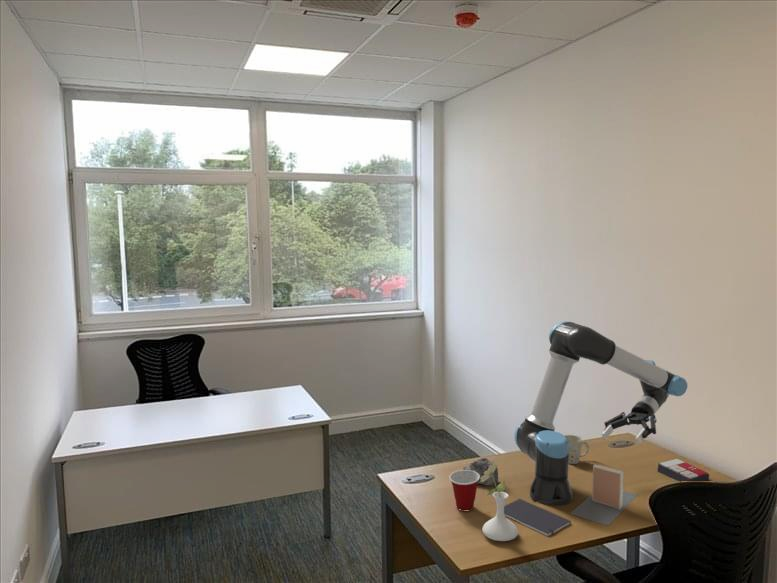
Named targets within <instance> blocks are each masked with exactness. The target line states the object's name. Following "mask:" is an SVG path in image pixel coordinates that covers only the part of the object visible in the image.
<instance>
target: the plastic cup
mask: <svg viewBox="0 0 777 583" xmlns="http://www.w3.org/2000/svg"><path fill="white" fill-rule="evenodd" d="M448 478H449V481H450V482H451V485H452V490H453V495H454V499H455V504H456V505H455V506H456V508H457V510H459V509H461V510H471V509H472V508H473V509H474V505H475V504H474V503H475V500H476V495H477V489H478V488H477V487H478V484H479V483H478V481H479V478H480V475H479V474H478V473H477V472H475V471H471V470H463V469H461V470H455V471H452V472H451V474H449V477H448ZM473 509H472V510H473ZM461 510H460V511H461ZM472 510H471V511H472Z"/></svg>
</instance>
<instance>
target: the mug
mask: <svg viewBox="0 0 777 583" xmlns="http://www.w3.org/2000/svg"><path fill="white" fill-rule="evenodd" d="M564 436H565V437H566V438H567V440H568V443H569V458H568V465H569V464H570V465H577V464H579V463H580V458H583V457H585V456H586V455H587V454H588V453H589V451H590V444H589V442H588V441H586V440H583V438H581V437H580V436H578V435H574V434H567V435H566V434H565V435H564ZM583 445H585V446H586V450H585V451H584V453H583V454H581V451H582V446H583Z"/></svg>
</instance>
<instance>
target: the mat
mask: <svg viewBox="0 0 777 583" xmlns="http://www.w3.org/2000/svg"><path fill="white" fill-rule="evenodd" d="M637 496H638V494H637V493H633V492H629V491H625V490H623V499H622V508H621V509H618V508H615V507H612V506H609V505H605V504H602V503H599V502H595V501H592V494H590V495H589V496H588V497H587V498H586V499H584V501H582V503H580V504H579V505H578V506H577V507H576V508H575V509H573V510H572V511H571V512H570V514H571V515H574V516H577V517H580V518H583V519H587V520H589V521H592V522H595V523H598V524H602V525H604V526H607V527H609V525H610V524H612V522H613V521H614V520H615V519H616V518H617V517H618V516H619V515H620V514H621V513H622V512H623V511H624V510H625V508H627V507H628V506H629V504H631V502H632V501H633V500H635V498H636V497H637Z"/></svg>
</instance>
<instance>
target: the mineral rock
mask: <svg viewBox="0 0 777 583" xmlns="http://www.w3.org/2000/svg"><path fill="white" fill-rule="evenodd" d="M494 462H495V461H491V460H489V459H488V458H485V457H482V458H479V459H477V460H475V461H472V462H471V463H470V464H469V465H466V466H464V467H463V468H462V470H471V471H475V472H477V473H478V474H479V475H480V478H481V477H482V476H483V475H485V474H484V472H485V471H487V470H488V468H489V466H490V465H493V464H494ZM495 464H496V462H495ZM492 475H493V478H494V480H495V483H496V485H497V484H498V482H499V469H498V466H497V467H496V469H495V471H494V472H493V474H492ZM480 478H479V481H478V484H481V485H485V486H489V485H492V486H491V487H494V485H495V483H494V480H493V478H492V476H490V477H489V478H488V479H487V480H486V481H484V482H480V481H481V479H480Z"/></svg>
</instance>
